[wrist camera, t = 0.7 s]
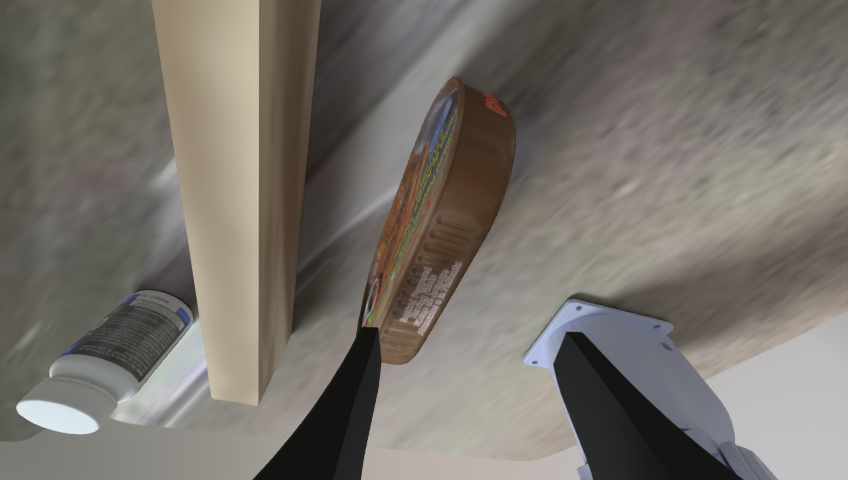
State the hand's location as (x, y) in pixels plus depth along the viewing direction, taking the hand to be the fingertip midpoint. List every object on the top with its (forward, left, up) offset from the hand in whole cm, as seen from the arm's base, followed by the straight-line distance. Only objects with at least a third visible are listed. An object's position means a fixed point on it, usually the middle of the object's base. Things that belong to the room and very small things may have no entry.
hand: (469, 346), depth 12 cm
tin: (+3, -1, -10) cm, 10 cm away
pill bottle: (+20, +14, -10) cm, 26 cm away
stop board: (+11, +2, -9) cm, 15 cm away
